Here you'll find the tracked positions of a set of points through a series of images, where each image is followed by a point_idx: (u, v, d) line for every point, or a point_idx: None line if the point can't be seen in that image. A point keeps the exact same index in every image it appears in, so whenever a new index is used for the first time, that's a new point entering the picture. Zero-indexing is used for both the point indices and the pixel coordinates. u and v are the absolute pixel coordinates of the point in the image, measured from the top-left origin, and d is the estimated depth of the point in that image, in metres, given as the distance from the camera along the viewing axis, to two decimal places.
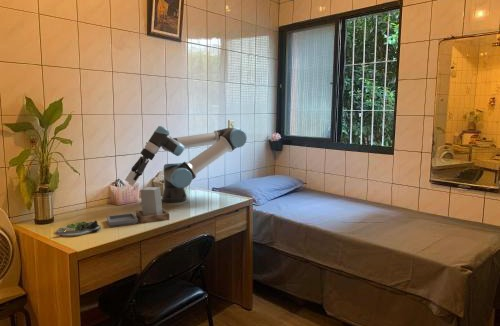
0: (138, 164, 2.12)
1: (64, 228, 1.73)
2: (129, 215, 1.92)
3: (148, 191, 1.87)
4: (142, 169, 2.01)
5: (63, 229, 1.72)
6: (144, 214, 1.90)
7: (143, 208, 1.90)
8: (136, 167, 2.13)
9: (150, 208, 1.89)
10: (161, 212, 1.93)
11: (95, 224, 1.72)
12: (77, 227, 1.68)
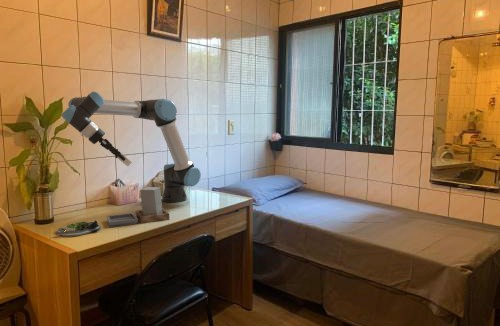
0: None
1: (64, 228, 1.73)
2: (129, 215, 1.92)
3: (148, 191, 1.87)
4: (113, 149, 1.72)
5: (63, 229, 1.72)
6: (144, 214, 1.90)
7: (143, 208, 1.90)
8: None
9: (150, 208, 1.89)
10: (161, 212, 1.93)
11: (95, 224, 1.72)
12: (77, 227, 1.68)
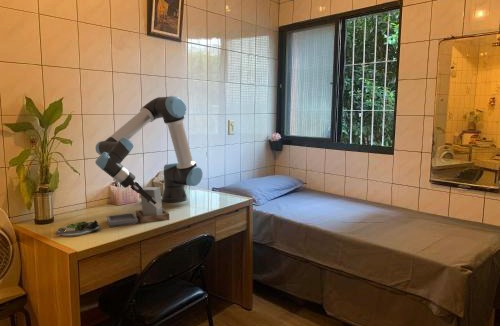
0: None
1: (64, 228, 1.73)
2: (129, 215, 1.92)
3: (148, 191, 1.87)
4: (145, 194, 1.82)
5: (63, 229, 1.72)
6: (144, 214, 1.90)
7: (143, 208, 1.90)
8: None
9: (150, 208, 1.89)
10: (161, 212, 1.93)
11: (95, 224, 1.72)
12: (77, 227, 1.68)
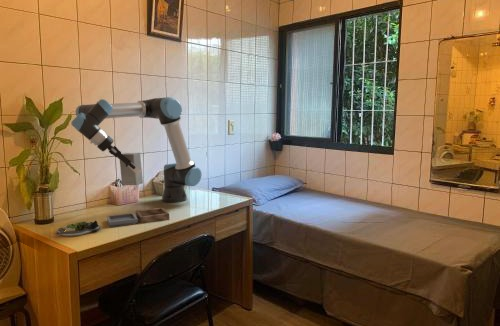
0: None
1: (64, 228, 1.73)
2: (129, 215, 1.92)
3: (127, 156, 1.80)
4: (124, 158, 1.75)
5: (63, 229, 1.72)
6: (123, 180, 1.83)
7: (122, 174, 1.82)
8: None
9: (129, 174, 1.81)
10: (141, 179, 1.86)
11: (95, 224, 1.72)
12: (77, 227, 1.68)
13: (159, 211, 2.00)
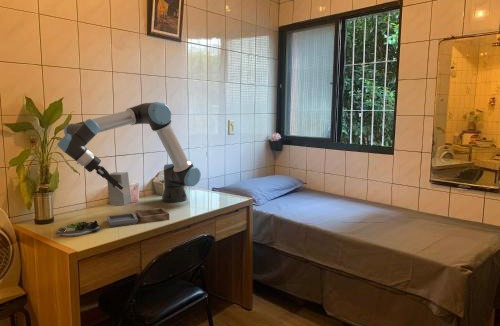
0: None
1: (64, 228, 1.73)
2: (129, 215, 1.92)
3: (114, 176, 1.78)
4: (111, 179, 1.73)
5: (63, 229, 1.72)
6: (111, 200, 1.81)
7: (109, 194, 1.81)
8: None
9: (117, 194, 1.79)
10: (129, 198, 1.84)
11: (95, 224, 1.72)
12: (77, 227, 1.68)
13: (159, 211, 2.00)
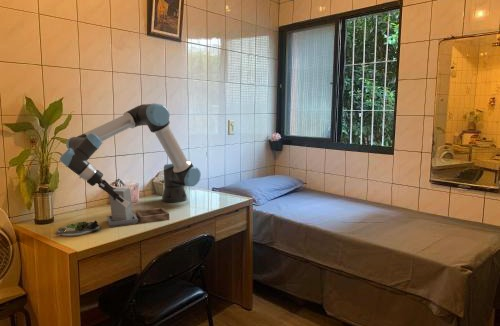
0: None
1: (64, 228, 1.73)
2: None
3: (117, 192, 1.80)
4: (111, 192, 1.73)
5: (63, 229, 1.72)
6: (113, 216, 1.82)
7: (112, 210, 1.82)
8: None
9: (119, 210, 1.81)
10: (131, 214, 1.85)
11: (95, 224, 1.72)
12: (77, 227, 1.68)
13: (159, 211, 2.00)
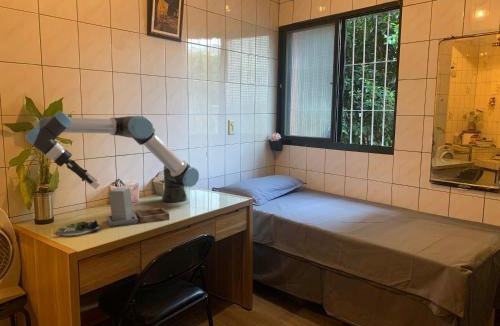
0: None
1: (64, 228, 1.73)
2: None
3: (117, 192, 1.80)
4: (79, 172, 1.66)
5: (63, 229, 1.72)
6: (113, 216, 1.82)
7: (112, 210, 1.82)
8: None
9: (119, 210, 1.81)
10: (131, 214, 1.85)
11: (95, 224, 1.72)
12: (77, 227, 1.68)
13: (159, 211, 2.00)
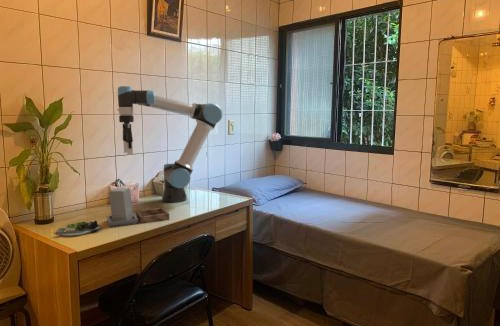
0: (125, 132, 2.08)
1: (64, 228, 1.73)
2: None
3: (117, 192, 1.80)
4: (130, 135, 1.98)
5: (63, 229, 1.72)
6: (113, 216, 1.82)
7: (112, 210, 1.82)
8: (125, 136, 2.10)
9: (119, 210, 1.81)
10: (131, 214, 1.85)
11: (95, 224, 1.72)
12: (77, 227, 1.68)
13: (159, 211, 2.00)
